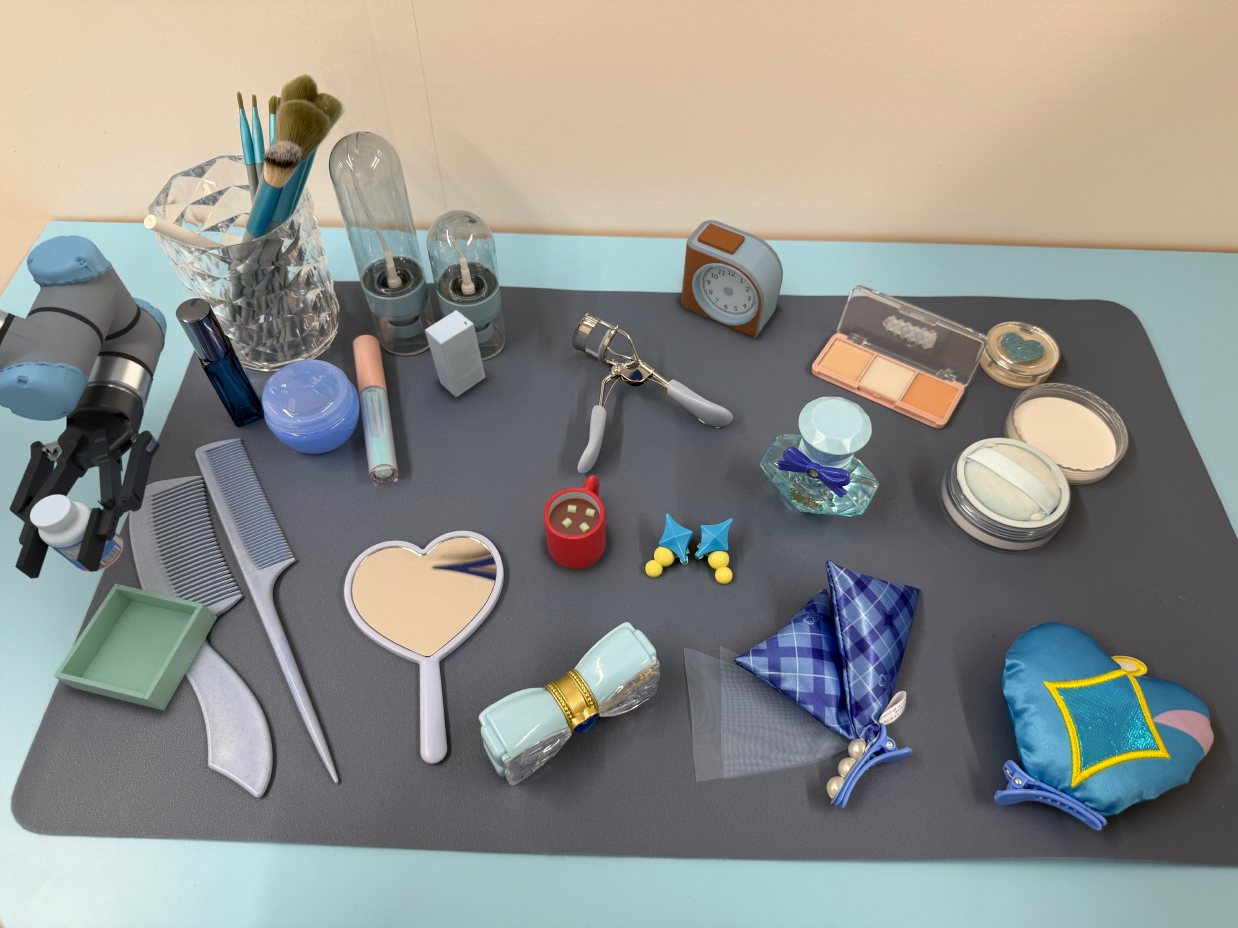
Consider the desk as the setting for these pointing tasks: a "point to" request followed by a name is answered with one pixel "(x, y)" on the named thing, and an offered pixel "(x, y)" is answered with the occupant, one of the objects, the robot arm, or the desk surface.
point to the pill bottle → (69, 529)
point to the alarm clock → (731, 277)
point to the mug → (576, 525)
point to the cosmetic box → (455, 353)
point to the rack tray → (137, 646)
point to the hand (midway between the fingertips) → (57, 568)
